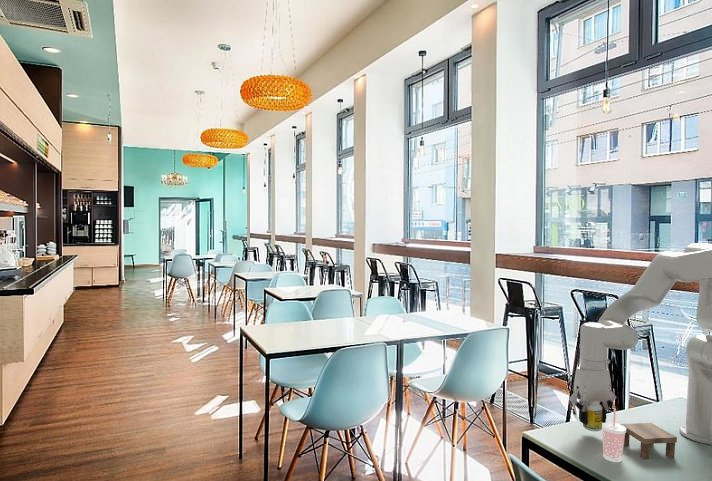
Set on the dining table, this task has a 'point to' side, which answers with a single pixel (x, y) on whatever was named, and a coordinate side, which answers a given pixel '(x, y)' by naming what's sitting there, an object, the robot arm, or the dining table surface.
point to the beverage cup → (613, 440)
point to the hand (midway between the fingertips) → (592, 421)
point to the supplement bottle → (594, 416)
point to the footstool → (650, 438)
